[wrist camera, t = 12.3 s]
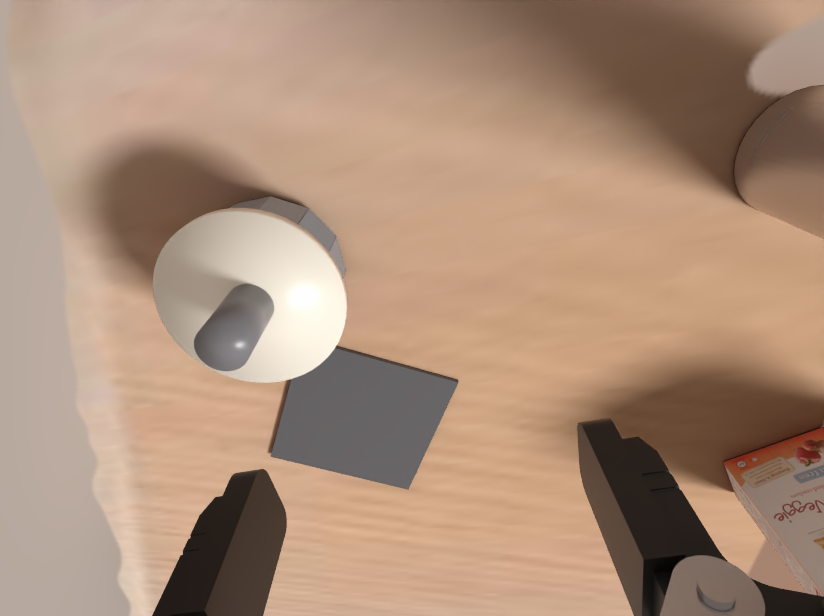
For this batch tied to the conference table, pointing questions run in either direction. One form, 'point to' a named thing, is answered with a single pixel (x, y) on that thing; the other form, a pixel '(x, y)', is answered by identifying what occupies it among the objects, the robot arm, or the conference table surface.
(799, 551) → the cracker box
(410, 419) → the mat
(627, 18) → the conference table surface
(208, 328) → the lid
